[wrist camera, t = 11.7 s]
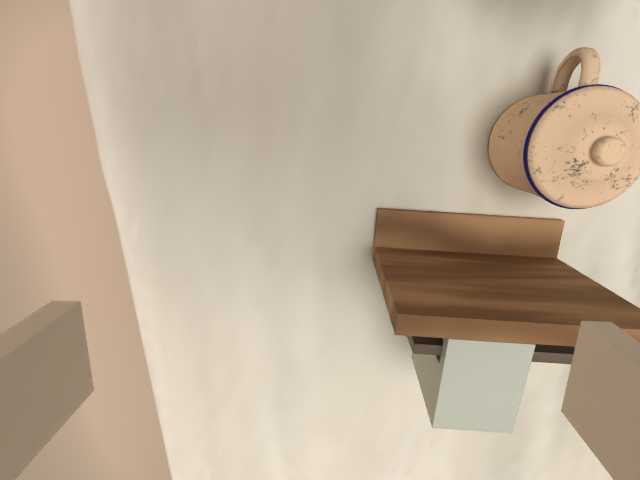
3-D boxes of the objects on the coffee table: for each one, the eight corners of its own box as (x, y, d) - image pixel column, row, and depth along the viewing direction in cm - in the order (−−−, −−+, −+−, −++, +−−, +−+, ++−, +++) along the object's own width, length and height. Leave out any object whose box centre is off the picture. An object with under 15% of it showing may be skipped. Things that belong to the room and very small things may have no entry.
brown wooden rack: (377, 208, 41) (404, 258, 26) (560, 219, 41) (696, 277, 26) (369, 286, 44) (390, 375, 28) (543, 297, 43) (659, 393, 28)
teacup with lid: (571, 194, 41) (663, 221, 29) (477, 189, 41) (532, 214, 29) (600, 60, 37) (716, 34, 26) (498, 55, 37) (569, 26, 26)
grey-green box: (422, 283, 38) (448, 339, 29) (489, 287, 37) (535, 344, 29) (410, 365, 40) (430, 438, 32) (472, 369, 40) (509, 443, 32)
